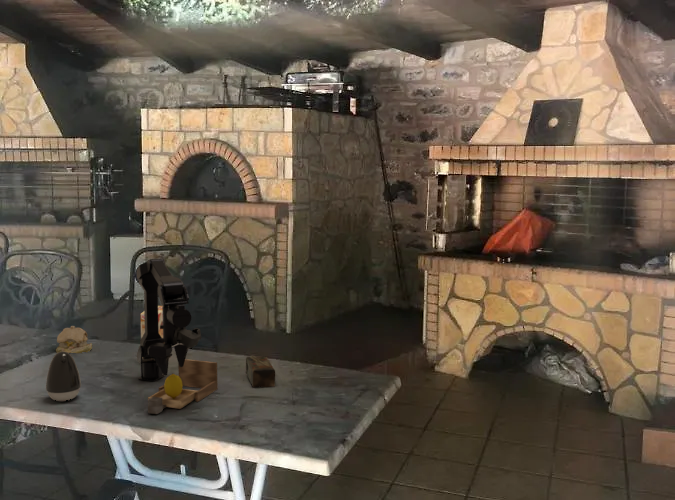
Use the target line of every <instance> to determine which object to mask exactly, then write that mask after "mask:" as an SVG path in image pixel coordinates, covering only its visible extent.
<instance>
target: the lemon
mask: <svg viewBox="0 0 675 500" xmlns="http://www.w3.org/2000/svg"><path fill="white" fill-rule="evenodd" d="M163 385H164V389H165V393H166V394H167V395H168V396H169V397H172V398H173V399H175V398H176V397H177V396H179V395H180V393H181V392H182V389H184V388H183V387H184V386H183V384H182V380H181V378H180V377H179V375H178V374H175V373H172V374H170V375H167V377H166V378H165V381H164V384H163Z"/></svg>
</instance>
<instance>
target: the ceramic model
mask: <svg viewBox="0 0 675 500" xmlns="http://www.w3.org/2000/svg"><path fill="white" fill-rule="evenodd" d="M56 338H57V339H56V343H58V346H57V347H56V349H55V352H56V354H57V353H58V352H61V351H65V352H68V353H76V354H83V353H82V352H86V353H89V352H91V351H92V350H91V349H93V343H92V342H90V343H88V340H89V338H88V333H87V331H86V330H84V329H82V328H81V327H76V326H75V325H71V326H70V327H65V328H63V329H62V331H61V332H59V334H58V335H57V337H56ZM90 350H91V351H90ZM88 351H89V352H88Z"/></svg>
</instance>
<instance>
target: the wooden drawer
mask: <svg viewBox="0 0 675 500" xmlns="http://www.w3.org/2000/svg"><path fill="white" fill-rule="evenodd" d="M197 391H198V390H196V389H195V390H193V389H185V388H182V392H181V393H180V395H179V396H177V397H176V398H175V399H173V398H172V397H169V396H168V395H167V394H166V393H165V389H162V390H161V391H157V392H155V393H154V394H152V395H150V396H148V397H147V412H148V414H152V415H158V414H160V413H162V412H163V409H165V408H172V409H179V410H181V409H182V408H184V407H185V406H187V405H189V404H190V403H192V402H193V401H196V396H195V392H197Z"/></svg>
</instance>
